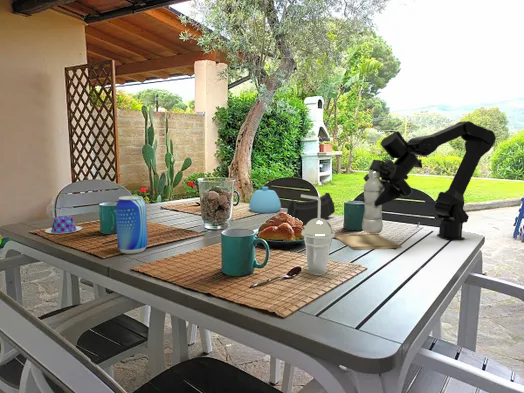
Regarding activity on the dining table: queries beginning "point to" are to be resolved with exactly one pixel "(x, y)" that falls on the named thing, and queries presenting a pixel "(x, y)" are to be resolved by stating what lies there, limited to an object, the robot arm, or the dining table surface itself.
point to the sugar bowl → (265, 201)
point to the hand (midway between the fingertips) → (369, 203)
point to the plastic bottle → (372, 204)
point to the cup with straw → (317, 241)
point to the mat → (366, 241)
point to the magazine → (311, 209)
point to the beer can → (131, 224)
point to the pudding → (63, 225)
